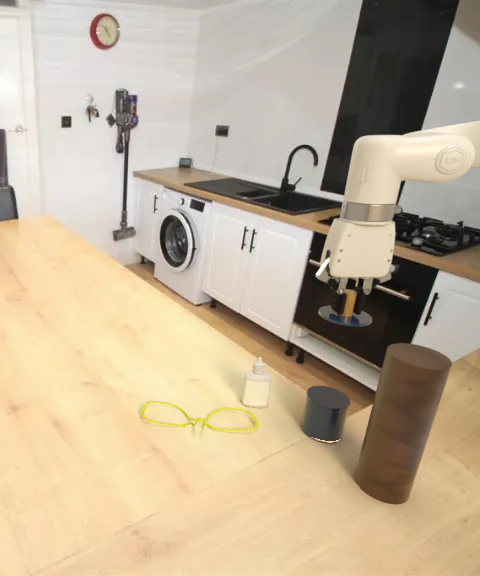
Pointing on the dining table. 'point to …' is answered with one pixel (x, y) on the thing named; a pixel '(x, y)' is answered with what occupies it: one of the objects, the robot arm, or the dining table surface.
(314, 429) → the canister
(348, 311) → the lid
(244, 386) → the eye dropper bottle
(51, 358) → the dining table surface
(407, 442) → the brown wooden cylinder
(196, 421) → the glasses
